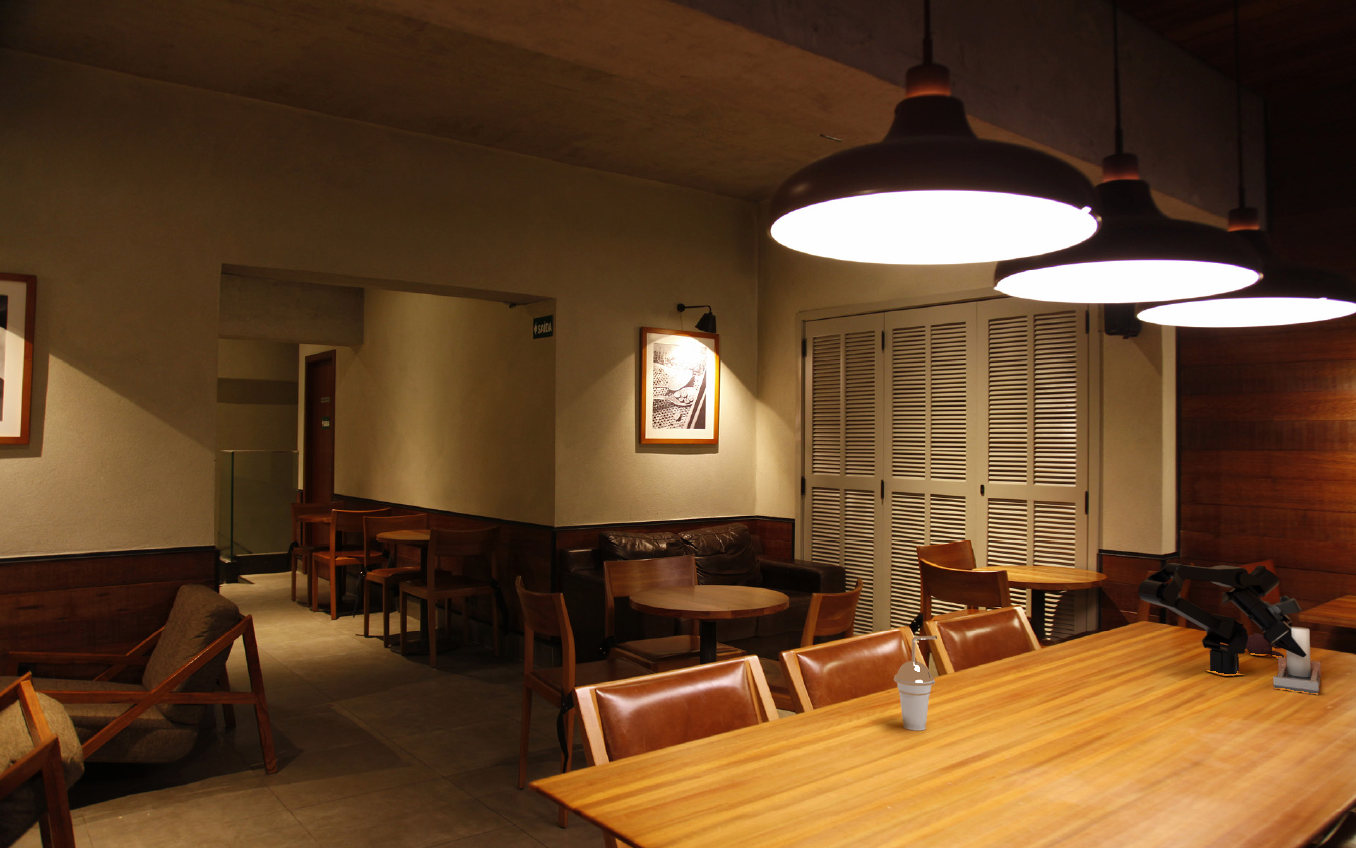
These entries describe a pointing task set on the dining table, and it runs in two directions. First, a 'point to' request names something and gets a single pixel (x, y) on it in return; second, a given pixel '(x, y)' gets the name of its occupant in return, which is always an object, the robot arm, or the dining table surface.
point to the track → (1298, 678)
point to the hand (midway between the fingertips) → (1304, 653)
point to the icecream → (1261, 645)
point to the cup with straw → (914, 690)
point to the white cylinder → (1295, 662)
